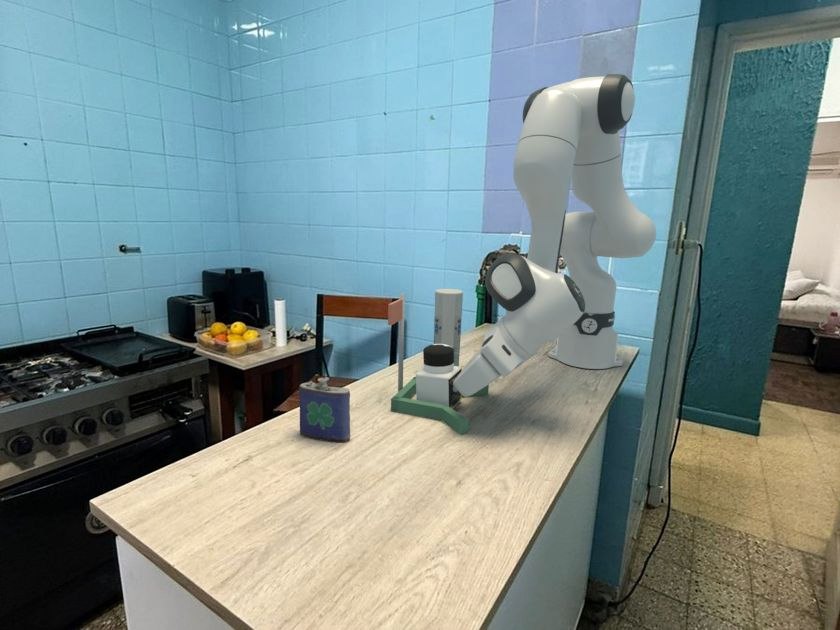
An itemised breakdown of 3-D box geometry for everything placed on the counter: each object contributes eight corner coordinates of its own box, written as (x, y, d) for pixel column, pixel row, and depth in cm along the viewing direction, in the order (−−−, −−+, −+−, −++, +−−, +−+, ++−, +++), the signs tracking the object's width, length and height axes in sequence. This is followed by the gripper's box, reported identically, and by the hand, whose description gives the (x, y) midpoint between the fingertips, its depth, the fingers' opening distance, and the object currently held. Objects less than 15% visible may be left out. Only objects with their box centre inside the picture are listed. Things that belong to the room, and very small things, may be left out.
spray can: (432, 366, 112) (435, 288, 107) (458, 367, 111) (462, 288, 107) (432, 375, 105) (435, 292, 101) (459, 376, 105) (463, 293, 100)
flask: (352, 436, 76) (352, 378, 73) (345, 445, 73) (344, 384, 71) (304, 428, 78) (302, 371, 76) (295, 436, 76) (293, 377, 73)
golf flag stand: (415, 380, 102) (417, 286, 97) (489, 392, 96) (495, 292, 91) (376, 418, 83) (377, 303, 78) (466, 435, 77) (472, 312, 72)
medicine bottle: (449, 413, 85) (448, 352, 82) (416, 407, 88) (414, 349, 85) (462, 399, 91) (461, 343, 89) (430, 394, 94) (429, 340, 92)
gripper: (504, 320, 92) (456, 359, 97) (484, 346, 73) (426, 393, 78) (524, 343, 91) (475, 381, 97) (509, 376, 73) (450, 420, 78)
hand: (453, 386), depth 87 cm, fingers closed
